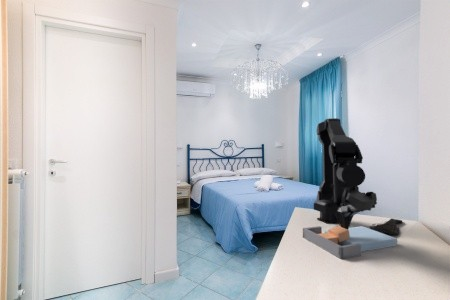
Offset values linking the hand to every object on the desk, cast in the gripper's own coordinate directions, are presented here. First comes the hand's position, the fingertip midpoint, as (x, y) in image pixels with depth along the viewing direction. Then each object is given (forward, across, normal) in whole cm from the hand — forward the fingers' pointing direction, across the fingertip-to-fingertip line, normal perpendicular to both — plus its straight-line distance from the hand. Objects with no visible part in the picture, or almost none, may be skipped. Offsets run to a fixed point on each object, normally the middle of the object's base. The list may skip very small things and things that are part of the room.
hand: (345, 232), depth 70 cm
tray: (+3, -6, 0) cm, 7 cm away
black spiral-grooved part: (+5, +28, +6) cm, 29 cm away
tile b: (+3, -7, 0) cm, 7 cm away
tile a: (+1, -2, 0) cm, 3 cm away
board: (+4, +6, 0) cm, 7 cm away
